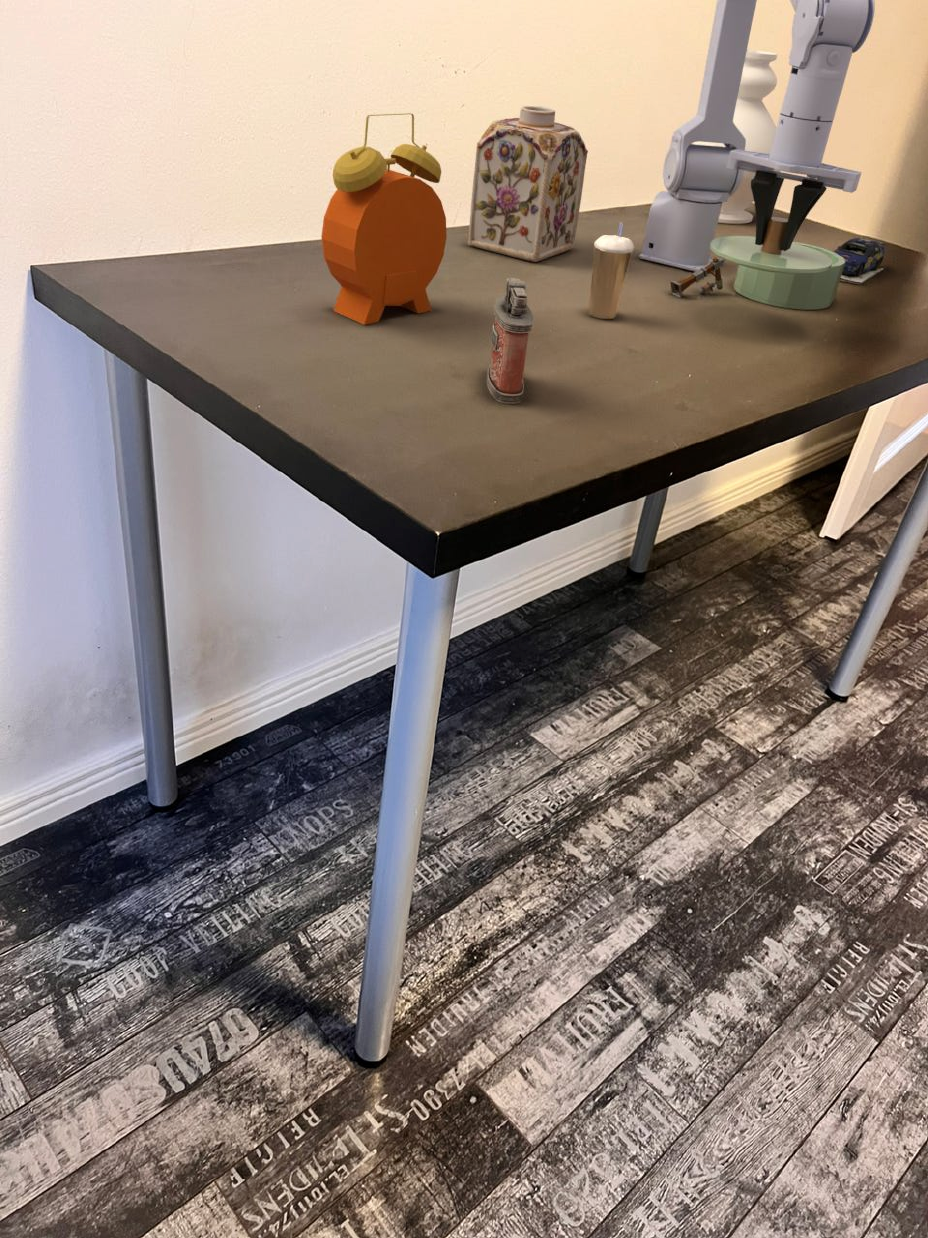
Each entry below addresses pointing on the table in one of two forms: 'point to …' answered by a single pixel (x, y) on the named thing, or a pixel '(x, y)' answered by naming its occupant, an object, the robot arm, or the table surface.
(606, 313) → the milkshake
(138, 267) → the table surface
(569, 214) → the decorative jar
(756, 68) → the decorative vase
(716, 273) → the wooden post with brackets
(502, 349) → the lighter
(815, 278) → the canister
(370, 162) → the alarm clock
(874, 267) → the race car
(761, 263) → the lid
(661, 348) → the table surface
